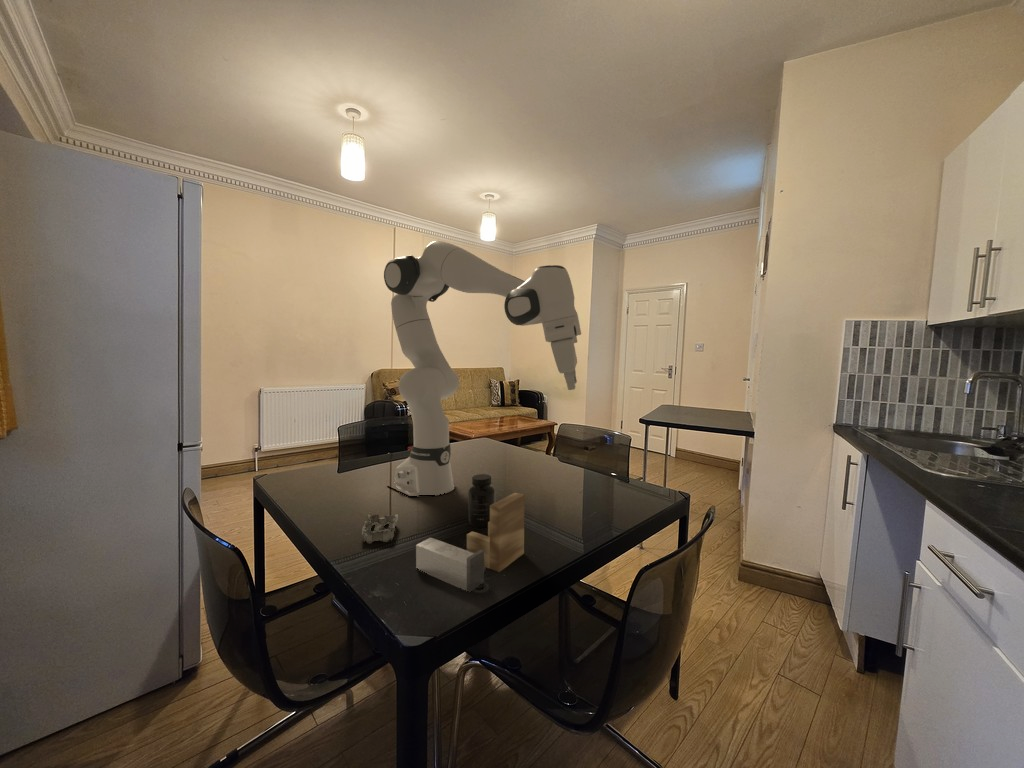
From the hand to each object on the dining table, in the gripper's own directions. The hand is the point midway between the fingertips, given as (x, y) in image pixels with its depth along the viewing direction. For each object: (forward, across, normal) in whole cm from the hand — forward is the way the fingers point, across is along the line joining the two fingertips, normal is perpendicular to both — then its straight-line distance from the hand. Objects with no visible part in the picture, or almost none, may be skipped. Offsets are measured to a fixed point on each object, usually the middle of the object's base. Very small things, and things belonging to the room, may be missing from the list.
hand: (572, 386), depth 99 cm
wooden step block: (+30, +23, -21) cm, 43 cm away
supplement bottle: (+30, +6, -29) cm, 42 cm away
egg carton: (+25, +18, -50) cm, 59 cm away
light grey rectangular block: (+28, +31, -28) cm, 51 cm away
